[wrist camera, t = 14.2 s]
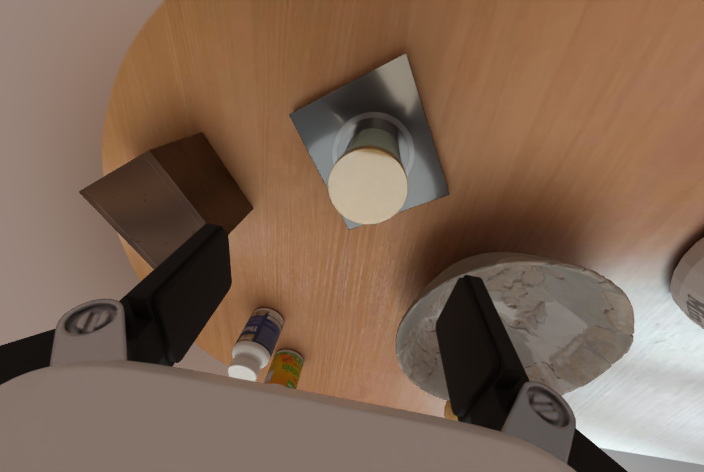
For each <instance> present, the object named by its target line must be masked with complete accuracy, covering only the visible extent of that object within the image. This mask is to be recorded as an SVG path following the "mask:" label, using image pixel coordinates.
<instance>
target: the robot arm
mask: <svg viewBox="0 0 704 472" xmlns="http://www.w3.org/2000/svg"><path fill="white" fill-rule="evenodd" d="M231 283H232V279H231V266H230V253H229V241H228V232H227V231H226V230H224V228H223V226H220V225H215V224H210V223H206V224H205V225H203V226H202V227H201V228H200V229H199V230H198V231H197V232H196V233H195V234H193V235H192V236H191V237H190V238H189V239H188V240H187V241H186V242H184V243H183V244H182V245H181V246H180V247H179V248H178V249H177V250H176V251H174V252H173V253H172V254H171V255H170V256H169V257H168V258H167V259H166V260H164V261H163V262H162V263H161V264H160V265H159V266H158V267H157V268H156V269H154V270H153V271H152V272H151V273H150V274H149V275H148V276H147V277H146V278H144V279H143V280H142V281H141V282H140V283H139V284H138V285H137V286H136V287H134V288H133V289H132V290H131V291H130V292H129V293H128V294H127V295H126V296H124V297H123V298H122V299H121V300H120V301H117V300H113V299H97V300H92V301H89V302H86V303H83V304H81V305H78V306H76V307H74V308H73V309H71V310H70V311H68V312H67V313H65V314H64V315H63V316H62V318H61V319H60V320H59V321H58V323H57V326H56V329H53V330H50V331H47V332H43V333H40V334H37V335H34V336H30V337H27V338H24V339H21V340H17V341H15V342H11V343H8V344H5V345H1V346H0V472H627V471H626V470H625V469H624V468H623V467H621V466H620V465H619V464H618V463H617V462H615V461H614V460H613V459H611V457H609V456H608V455H607V454H606V453H605V452H603V451H602V450H601V449H600V448H599V447H597V446H596V445H595V444H594V443H592V442H591V441H590V440H589V439H588V438H586V437H585V436H584V435H583V434H582V433H580V432H579V431H578V430H577V429H576V428H575V427H576V419H575V417H574V414H573V411H572V410H571V408H570V406H569V405H568V403H567V402H566V401H565V400H564V399H563V398H562V396H561V395H559V394H558V393H557V392H556V391H555V390H553V389H552V388H550V387H549V386H547V385H545V384H543V383H540V382H537V381H530V380H529V378H528V376H527V374H526V372H525V370H524V367H523V365H522V363H521V361H520V359H519V357H518V355H517V352H516V350H515V348H514V346H513V344H512V342H511V340H510V338H509V335H508V333H507V331H506V329H505V327H504V325H503V323H502V320H501V318H500V316H499V314H498V312H497V310H496V308H495V306H494V303H493V301H492V299H491V297H490V295H489V293H488V291H487V289H486V286H485V284H484V282H483V280H482V279H481V278H480V277H476V276H471V275H464V276H463V278H462V277H460V278H459V279H458V280H457V282H456V284H455V286H454V288H453V290H452V292H451V294H450V296H449V298H448V300H447V302H446V304H445V306H444V308H443V310H442V312H441V314H440V316H439V318H438V320H437V322H436V327H435V329H436V335H437V340H438V345H439V350H440V355H441V360H442V364H443V369H444V374H445V379H446V384H447V389H448V394H449V399H450V404H451V409H452V412H453V414H454V415H455V416H457V419H458V421H454V420H450V419H445V418H440V417H436V416H431V415H426V414H421V413H416V412H411V411H406V410H401V409H395V408H390V407H385V406H380V405H375V404H370V403H365V402H360V401H355V400H349V399H344V398H339V397H334V396H328V395H323V394H318V393H313V392H307V391H302V390H297V389H292V388H286V387H281V386H276V385H270V384H265V383H260V382H254V381H249V380H243V379H238V378H233V377H227V376H222V375H216V374H211V373H206V372H200V371H194V370H188V369H182V368H176V367H172V366H173V365H174V363H175V362H176V363H178V362H180V361H181V360H182V359H183V357H184V356H185V354H186V353H187V351H188V350H189V348H190V347H191V345H192V344H193V342H194V341H195V339H196V338H197V337H198V335H199V334H200V332H201V331H202V329H203V328H204V326H205V325H206V323H207V322H208V320H209V319H210V317H211V316H212V314H213V313H214V312H215V310H216V309H217V307H218V306H219V304H220V303H221V301H222V300H223V298H224V297H225V295H226V294H227V292H228V291H229V289H230V287H231Z"/></svg>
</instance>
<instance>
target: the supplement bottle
mask: <svg viewBox="0 0 704 472" xmlns="http://www.w3.org/2000/svg"><path fill="white" fill-rule="evenodd" d="M303 363H304V361H303V358H302V356H301V355H300V354H299V353H297V352H295V351H292V350H287V349H285V350H280V351H278V352H277V353H276V354H275V356H274V358H273V361H272V363H271V366H270V368H269V371H268V374H267V376H266V379H265V381H264V383H265V384H270V385H276V386H281V387H286V388H292V389H296V388H297V384H298V381H299V377H300V374H301V370H302V367H303Z"/></svg>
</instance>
